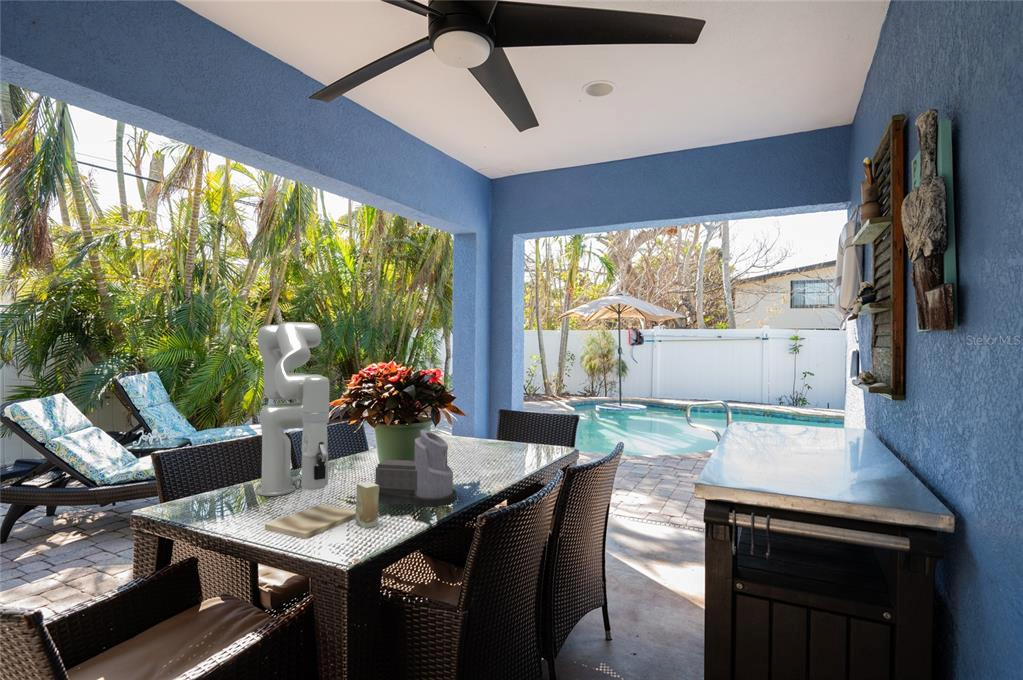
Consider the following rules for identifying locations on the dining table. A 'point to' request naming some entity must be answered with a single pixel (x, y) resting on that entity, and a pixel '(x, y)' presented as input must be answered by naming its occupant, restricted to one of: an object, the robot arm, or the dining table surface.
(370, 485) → the skincare box
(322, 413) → the robot arm
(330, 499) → the dining table surface
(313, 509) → the oak board
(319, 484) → the can
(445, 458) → the juicer
